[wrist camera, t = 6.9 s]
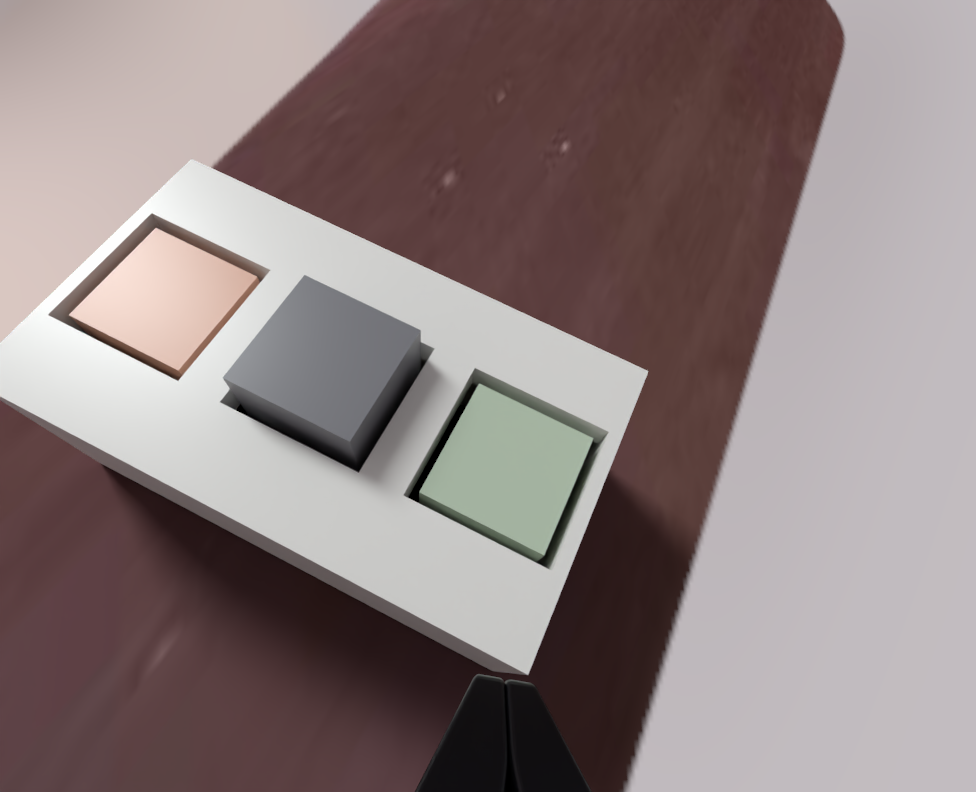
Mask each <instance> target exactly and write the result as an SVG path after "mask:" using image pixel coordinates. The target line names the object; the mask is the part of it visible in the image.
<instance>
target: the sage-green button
mask: <svg viewBox="0 0 976 792" xmlns="http://www.w3.org/2000/svg"><path fill="white" fill-rule="evenodd" d="M593 439H594V438H592V437H590V436H588V435H586V434H583V433H581V432H579V431H577V430H575V429H573V428H571V427H569V426H567V425H565V424H563V423H561V422H559V421H556V420H554V419H552V418H550V417H548V416H546V415H544V414H542V413H540V412H538V411H536V410H534V409H531V408H529V407H527V406H525V405H523V404H521V403H519V402H517V401H515V400H513V399H511V398H509V397H507V396H504V395H502V394H500V393H498V392H496V391H494V390H492V389H490V388H488V387H486V386H484V385H482V384H479V385H478V386H477V388H476V390H475V392H474V394H473V395H472V397H471V399H470V401H469V403H468V404H467V406H466V408H465V410H464V412H463V414H462V415H461V417H460V419H459V421H458V423H457V424H456V426H455V428H454V430H453V432H452V434H451V435H450V437H449V439H448V441H447V443H446V444H445V446H444V448H443V450H442V452H441V453H440V455H439V457H438V459H437V461H436V463H435V464H434V466H433V468H432V470H431V472H430V473H429V475H428V477H427V479H426V481H425V483H424V484H423V486H422V488H421V490H420V492H419V504H421V505H423V506H425V507H427V508H429V509H431V510H433V511H435V512H437V513H439V514H441V515H443V516H445V517H447V518H449V519H451V520H453V521H455V522H457V523H459V524H461V525H463V526H465V527H467V528H469V529H471V530H473V531H475V532H477V533H479V534H480V535H482V536H484V537H486V538H488V539H490V540H492V541H494V542H496V543H498V544H500V545H502V546H504V547H506V548H508V549H510V550H512V551H514V552H516V553H518V554H520V555H522V556H524V557H526V558H528V559H530V560H532V561H534V562H537V561H538V560H539V559H541V558H542V557H543V556H544V555H545V553H546V550H547V548H548V545H549V543H550V541H551V538H552V536H553V534H554V531H555V529H556V526H557V524H558V522H559V519H560V517H561V515H562V512H563V510H564V507H565V505H566V503H567V500H568V498H569V496H570V493H571V491H572V488H573V486H574V484H575V481H576V479H577V477H578V474H579V472H580V469H581V467H582V465H583V462H584V460H585V458H586V455H587V453H588V451H589V448H590V446H591V443H592V441H593Z"/></svg>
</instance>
